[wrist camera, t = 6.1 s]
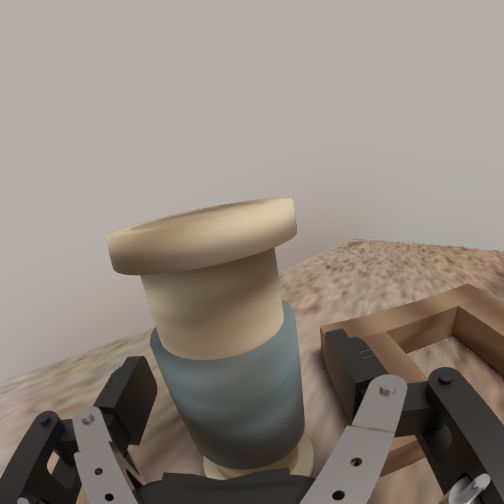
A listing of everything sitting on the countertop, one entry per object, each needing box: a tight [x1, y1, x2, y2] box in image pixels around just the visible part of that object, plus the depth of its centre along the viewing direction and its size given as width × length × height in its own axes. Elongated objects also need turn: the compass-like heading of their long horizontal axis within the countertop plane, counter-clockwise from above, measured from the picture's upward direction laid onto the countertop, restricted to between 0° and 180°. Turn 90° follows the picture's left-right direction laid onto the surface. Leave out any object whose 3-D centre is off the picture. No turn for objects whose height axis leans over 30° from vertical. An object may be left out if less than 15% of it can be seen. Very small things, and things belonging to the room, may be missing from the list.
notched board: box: [320, 284, 504, 477], centre depth 15 cm, size 17×13×3 cm
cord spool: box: [105, 198, 314, 480], centre depth 10 cm, size 6×6×14 cm
